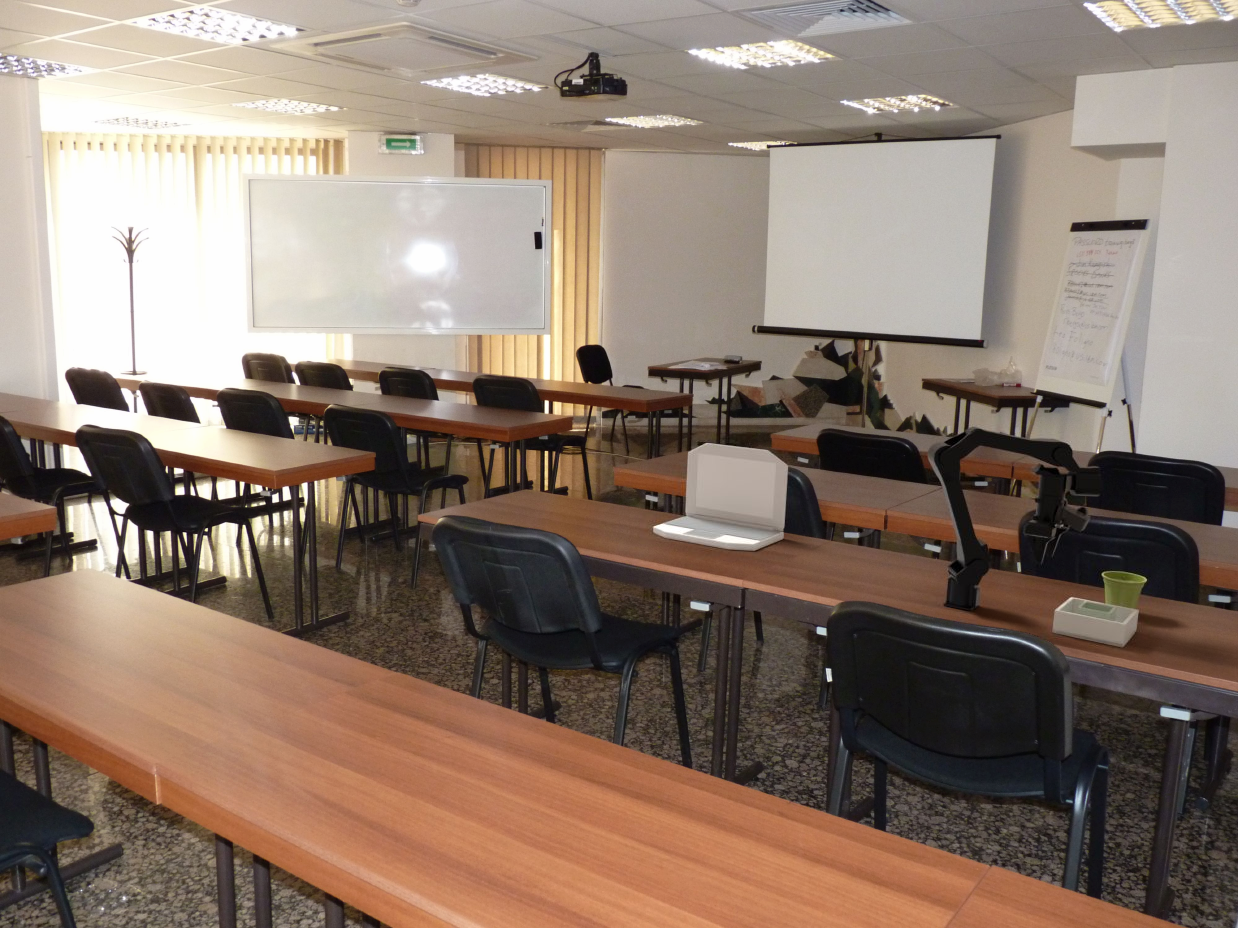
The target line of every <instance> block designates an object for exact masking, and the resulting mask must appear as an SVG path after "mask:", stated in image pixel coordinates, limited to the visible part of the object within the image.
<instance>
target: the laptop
mask: <svg viewBox="0 0 1238 928" xmlns="http://www.w3.org/2000/svg"><path fill="white" fill-rule="evenodd" d="M686 471H687V472H686V491H685V492H686V493H685V515H686V516H681V517H679V518H675V519H673V520H670V521H669V520H668V521H666V522H663V523H661V524H658V525H655V526H652V529H653V532H652V533H653V534H656V535H658V536H660V537H663V538H664V539H667V540H668V539H669V540H675V541H681V542H685V543H691V544H697V545H702V546H708V547H712V548H713V547H714V548H719V549H724V550H736V551H750V552H752V551H753V552H754V551H757V550H759V549H762V548H764V547H767V546H769V545H771V544H774V543H776V542H779V541H781V540H784V533H785V532H784V529H785V519H786V506H787V503H786V502H787V488H788V474H789V472H788V471H789V466H788V464H787V463H785V462H784V461H783V460H781V459H780V458H779V457H777V456H776V455H775V454H773V453H772V452H771V451H770V450H768V449H760V448H752V447H750V448H749V447H745V446H743V447H742V446H734V445H726V444H718V443H710V442H706V443H703V444H702V445H700V446H697V447H696V448H693V449H692V450H689V451H688V452H687V470H686Z"/></svg>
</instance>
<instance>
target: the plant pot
mask: <svg viewBox="0 0 1238 928" xmlns="http://www.w3.org/2000/svg"><path fill="white" fill-rule="evenodd" d="M1101 577H1102V578H1103V582H1104V597H1105V604H1110V605H1115V606H1121V607H1126V608H1131V609H1136V610H1137V605H1138V604H1139V603H1138V602H1139V599H1140V596H1141V592H1142V588H1144V586H1145V584H1146V583H1147V581H1148V579H1147V578H1146V577H1145V576H1142V575H1139V574H1135V573H1130V572H1126V571H1113V570H1112V571H1111V570H1110V571H1104V572H1102V573H1101Z"/></svg>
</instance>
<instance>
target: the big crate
mask: <svg viewBox="0 0 1238 928" xmlns="http://www.w3.org/2000/svg"><path fill="white" fill-rule="evenodd" d="M1084 601H1088V602H1093V603H1098V604H1104V605H1109V606H1114V607H1117V609H1116V617H1115V621H1110V620H1105V619H1100V618H1095V617H1090V616H1085V615H1080V614H1077V610H1078V607H1079V606H1080V605H1081V604H1082V603H1083V602H1084ZM1138 618H1139V609H1137V608H1136V609H1131V608H1126V607H1121V606H1115V605H1110V604H1105V603H1104V602H1099V601H1095V600H1094V601H1093V600H1089V599H1084V598H1079V597H1069V598H1068V599H1067V600H1065V601H1064V602H1063V603H1061V605H1059V606H1058V607H1057V608H1056V609H1055V610H1054V613H1053V623H1052V631H1051V632H1052V634H1053V633H1054V634H1057V635H1062V636H1067V637H1072V638H1077V639H1080V640H1081V639H1082V640H1086V641H1091V642H1095V643H1101V644H1105V645H1109V646H1113V647H1118V648H1119V647H1120V648H1124V646H1125V645H1126V644H1127V643H1128V642H1129V641H1130V640H1131V638H1133V636H1134V635H1135V634H1136V633H1137V626H1138V621H1139V619H1138ZM1135 632H1136V633H1135Z"/></svg>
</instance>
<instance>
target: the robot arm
mask: <svg viewBox="0 0 1238 928" xmlns="http://www.w3.org/2000/svg"><path fill="white" fill-rule="evenodd" d="M980 446H982V447H986V448H991V449H996V450H999V451H1000V450H1001V451H1005V452H1006V451H1007V452H1010V453H1015V454H1019V455H1024V456H1028V457H1031V458H1034V459H1036V460H1039V461H1041V462H1044V463H1046V464H1049V465H1052V467H1051V466H1050V467H1049V466H1048V467H1047V466H1044V464H1042V463H1038V464H1037V465H1036V466H1034V467H1033V468H1031V469H1030V473H1032V474H1034V475H1037V476H1039V481H1038V489H1037V497H1034V503H1036V508H1035V509H1036V510H1035V514H1033V515H1032V519H1031V520H1029V521H1027V522H1026V523H1025V524H1024V525H1023V528H1022V534H1024V537H1026V540H1027V543H1028V544H1029V546H1030V550H1031V552H1032V555H1033V558H1034V560H1035V562H1036V564H1039V565H1042V564H1043V562H1044V557H1045V554H1046V556H1047V557H1049V558H1052V557H1053V556H1054V553H1055V551H1056V548H1057V546H1058V544H1059V542H1060V541H1059V540H1060V538H1061V536H1062V534H1063V533H1066V532H1067V531H1068V530H1070V527H1071V528H1073V529H1074V530H1075V531H1077V532H1079V533H1080V532H1083V531H1084V530H1085V529H1086V527H1087V525H1088V524H1089V522H1090V520H1091V518H1092V517H1091V515H1089V508H1087V507H1085V506H1083V505H1082V506H1080V507H1078V508H1077V509H1076V508H1075V507H1070V506H1069V505H1068V503H1069V502H1068V500H1067V498H1066V491H1068V492H1069V493H1070V495H1072V496H1083V497H1084V496H1086V497H1100V495H1102V492H1103V488H1104V483H1103V477H1102V476H1103V475H1102V474H1101V467H1099V466H1094V465H1091V466H1079V464H1078V463H1077V461H1076V460H1075V458H1074V456H1073V455H1074V454H1073V448H1072V447H1071V445H1070V444H1069V443H1066V442H1064V441H1061V440H1059V439H1056V438H1042V437H1040V438H1026V437H1022V436H1018V435H1012V434H1007V433H1002V432H997V431H992V430H989V429H983V428H980V427H977V426H971V427H968V428H967V429H966V430H964V431H962V432H961V433H958V434H956V435H953V436H952V437H951V436H950V438H948V439H946V440H944V441H943V442H942V441H939V442H935V443H932V445H930V447H929V449H928V450H927V453H926V454H927V455H926V456H927V459H928V461H929V464H930V466H931V468H932V470H933V471H934V473H935V475H936V476H937V478H938V479H939V481H940V483H941V486H942V490H943V491H942V492H943V494H944V497H945V501H946V504H947V507H948V511H949V515H950V519H951V521H952V526H953V529H954V532H955V536H956V559H954V560H953V561H952V562H950V564H948V565H946V569H947V572H948V575H949V576H950V577H948V579H947V585H946V597H945V601H944V602H943V604H942V605H943V606H945V607H951V608H956V609H959V610H965V611H972V610H974V609H975V608H977V607H978V606H979V605H980V596H981V588H980V587H979V584H980V583H981V580H982V578H983V577H984V576H986V574H988V572H989V571H990V569H991V562H992V561H993V559H992V558H991V556H990V554H989V546H988V544H987V543H986V542H985V541H984V540H982V539H981V538H977V536H976V532H975V528H974V524H973V522H972V518H971V514H970V511H969V507H968V505H967V500H966V497H965V494H964V490H963V486H962V483H961V469H962V467H961V460H963V459H964V458H966V457H968V456H969V454H971V453H972V452H973V451H974V450H976V448H978V447H980ZM1059 468H1061V469H1062V470H1065V471H1060V470H1059ZM1064 525H1065V526H1064Z"/></svg>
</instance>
